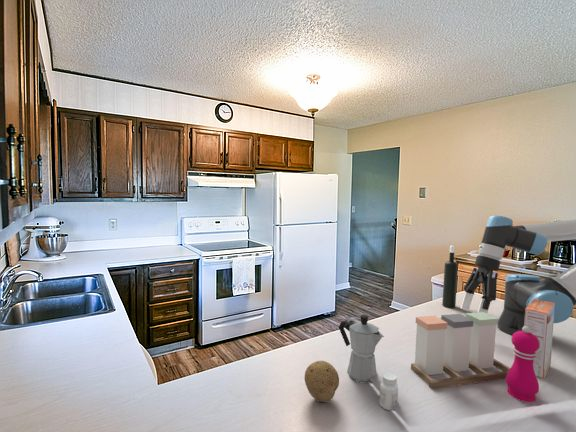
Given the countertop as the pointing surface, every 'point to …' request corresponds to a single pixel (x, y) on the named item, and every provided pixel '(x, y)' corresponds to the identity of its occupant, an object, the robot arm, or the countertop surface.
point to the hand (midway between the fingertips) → (472, 313)
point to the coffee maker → (361, 348)
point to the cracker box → (541, 332)
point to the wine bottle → (450, 281)
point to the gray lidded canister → (457, 341)
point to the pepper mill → (523, 366)
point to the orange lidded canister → (430, 344)
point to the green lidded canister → (482, 339)
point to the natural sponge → (321, 380)
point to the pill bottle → (388, 391)
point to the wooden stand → (462, 380)
